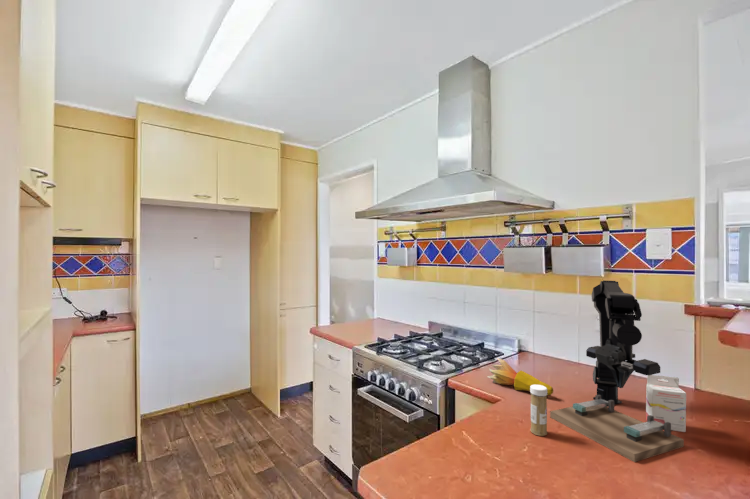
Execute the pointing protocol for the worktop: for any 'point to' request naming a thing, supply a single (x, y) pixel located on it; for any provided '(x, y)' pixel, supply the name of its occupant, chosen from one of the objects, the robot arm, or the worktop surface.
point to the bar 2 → (644, 428)
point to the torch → (515, 377)
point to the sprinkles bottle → (538, 410)
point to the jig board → (618, 431)
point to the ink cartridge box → (666, 401)
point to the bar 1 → (590, 405)
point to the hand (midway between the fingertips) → (620, 387)
